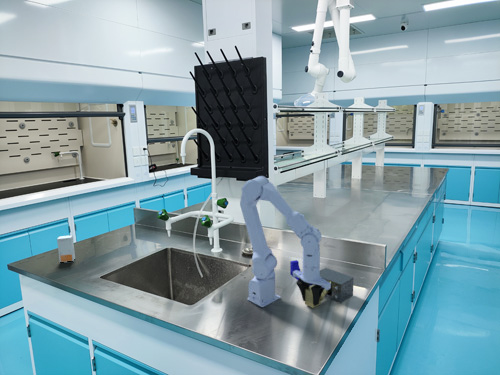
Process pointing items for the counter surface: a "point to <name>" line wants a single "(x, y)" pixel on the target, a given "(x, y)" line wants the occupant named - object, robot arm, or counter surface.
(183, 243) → the counter surface
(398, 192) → the counter surface
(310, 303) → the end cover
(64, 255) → the skincare box
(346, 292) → the block
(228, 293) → the counter surface
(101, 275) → the counter surface
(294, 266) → the cable clip
